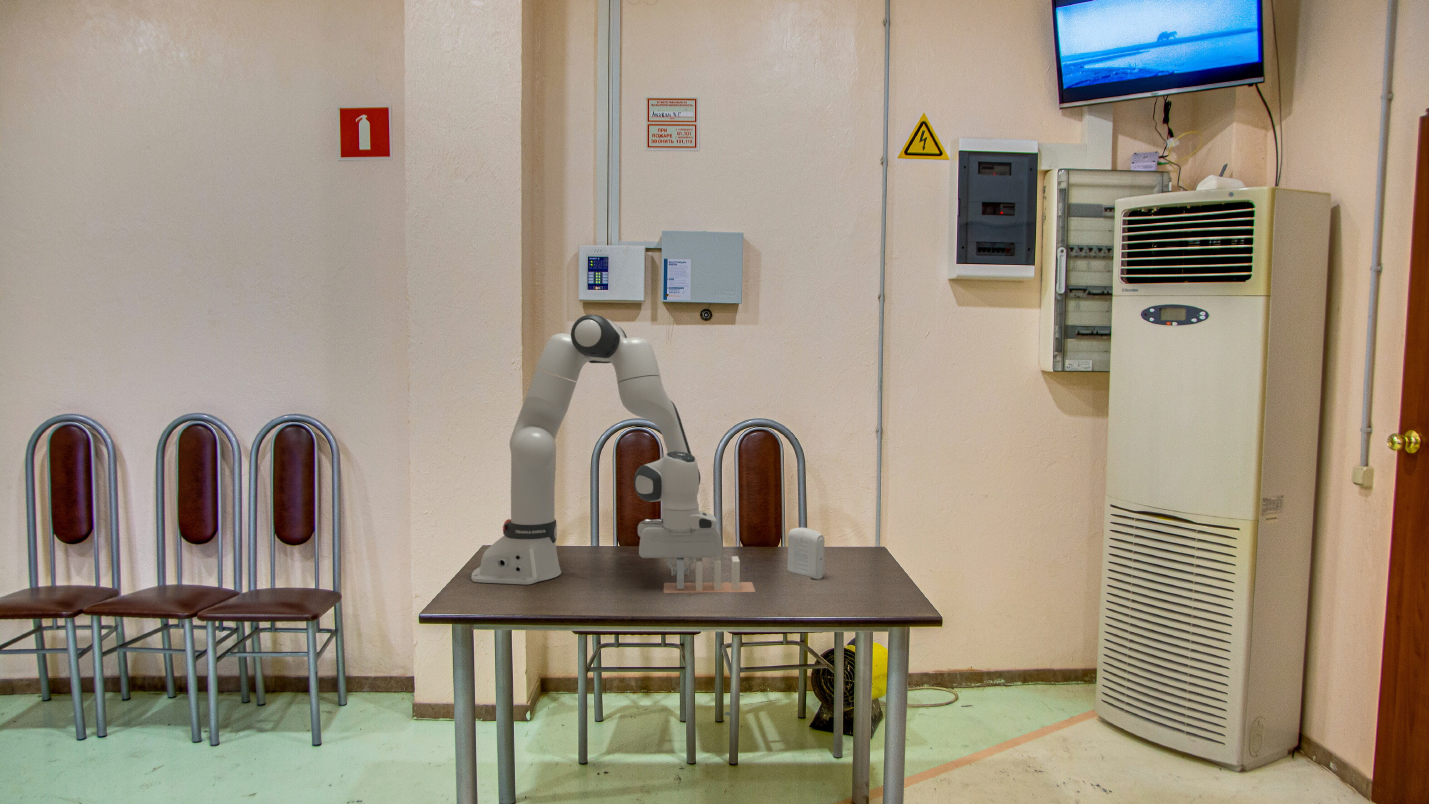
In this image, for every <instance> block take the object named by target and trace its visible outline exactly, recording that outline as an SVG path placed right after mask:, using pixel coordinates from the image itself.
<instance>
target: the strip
mask: <svg viewBox="0 0 1429 804" xmlns="http://www.w3.org/2000/svg"><path fill="white" fill-rule="evenodd" d="M692 593H693V594H699V593H700V594H701V593H702V594H703V593H705V594H706V593H710V594H711V593H712V594H715V593H756V589H755V587H754V584H753V582H751V581H741V582H740V590H733V588H732V585H731V581H730V582H727V581H725V582H722V581H721V590H714V586H713V582H703V584H702V591H696V588H695V582H684V589H677V582H664V583H663V594H692Z"/></svg>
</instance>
